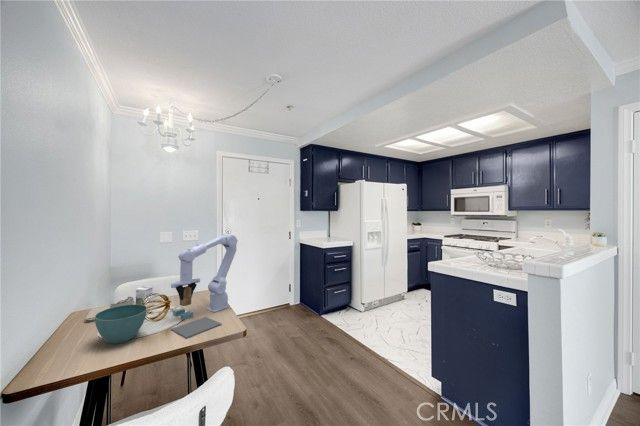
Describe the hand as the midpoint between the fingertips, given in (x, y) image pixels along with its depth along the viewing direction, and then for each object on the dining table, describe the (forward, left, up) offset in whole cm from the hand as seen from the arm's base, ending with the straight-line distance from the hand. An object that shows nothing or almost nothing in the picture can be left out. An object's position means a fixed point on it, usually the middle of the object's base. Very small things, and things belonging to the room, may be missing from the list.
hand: (185, 298), depth 137 cm
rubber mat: (+2, +15, -10) cm, 19 cm away
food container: (+19, -23, -11) cm, 32 cm away
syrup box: (+10, -24, -11) cm, 28 cm away
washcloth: (+25, -39, -11) cm, 47 cm away
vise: (0, -7, -10) cm, 12 cm away
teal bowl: (+28, 0, -11) cm, 30 cm away
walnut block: (0, 0, -3) cm, 3 cm away
